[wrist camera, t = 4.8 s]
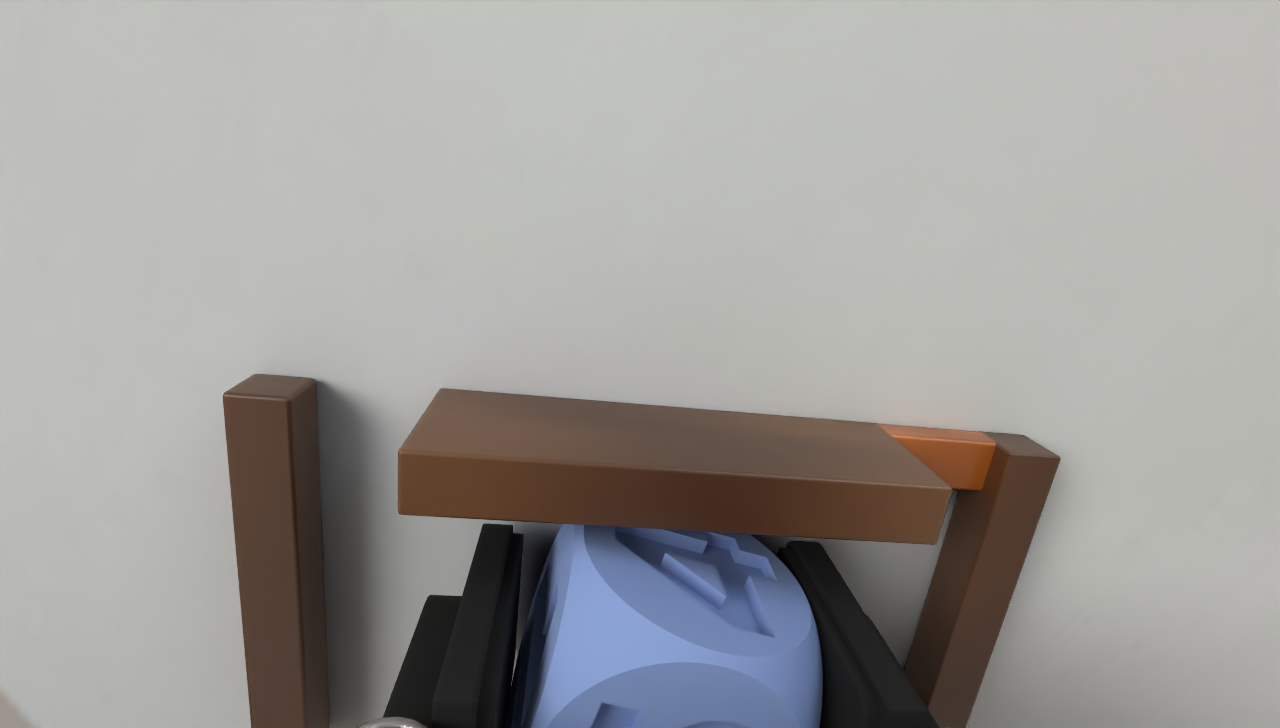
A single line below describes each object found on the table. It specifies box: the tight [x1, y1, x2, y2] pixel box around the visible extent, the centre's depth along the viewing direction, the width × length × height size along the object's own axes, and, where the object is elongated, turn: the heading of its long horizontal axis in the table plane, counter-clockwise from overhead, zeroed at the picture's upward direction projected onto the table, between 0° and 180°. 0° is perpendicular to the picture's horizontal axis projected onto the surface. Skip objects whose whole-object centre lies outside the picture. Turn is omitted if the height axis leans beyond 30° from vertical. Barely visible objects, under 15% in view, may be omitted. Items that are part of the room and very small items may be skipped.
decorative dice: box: [505, 524, 823, 728], centre depth 10 cm, size 4×4×4 cm
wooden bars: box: [223, 374, 1060, 728], centre depth 11 cm, size 14×8×2 cm, turn 83°
